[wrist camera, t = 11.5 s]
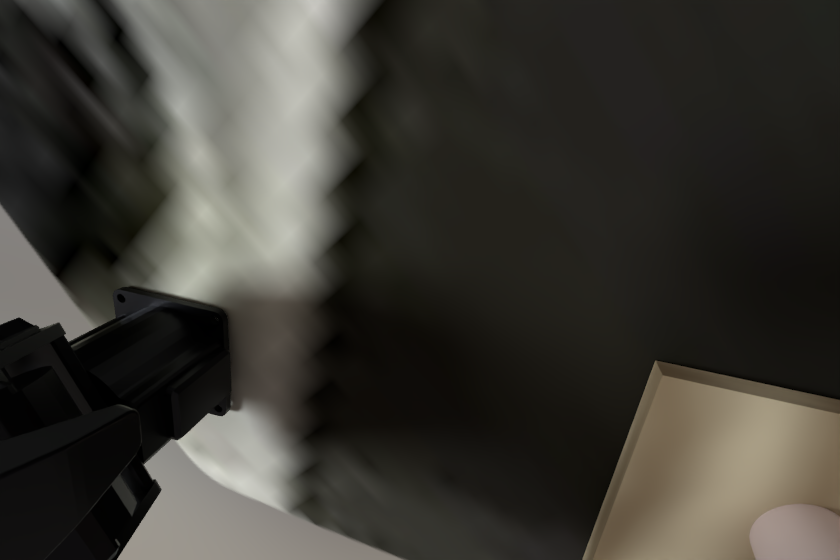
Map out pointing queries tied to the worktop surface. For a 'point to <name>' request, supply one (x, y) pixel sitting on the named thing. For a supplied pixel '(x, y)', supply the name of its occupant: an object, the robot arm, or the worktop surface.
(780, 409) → the cutting board
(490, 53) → the worktop surface
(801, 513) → the smoothie
